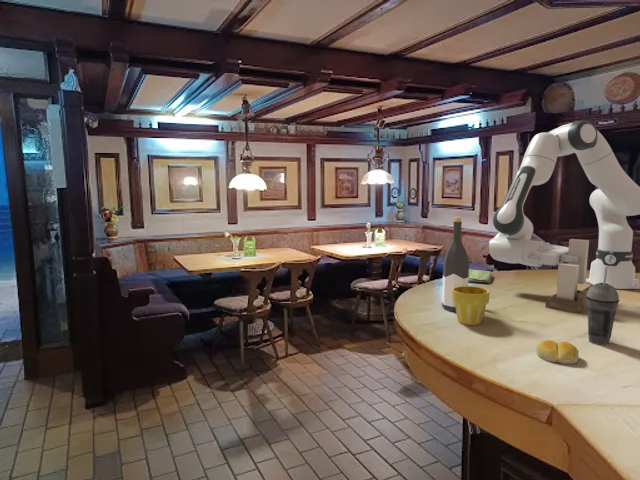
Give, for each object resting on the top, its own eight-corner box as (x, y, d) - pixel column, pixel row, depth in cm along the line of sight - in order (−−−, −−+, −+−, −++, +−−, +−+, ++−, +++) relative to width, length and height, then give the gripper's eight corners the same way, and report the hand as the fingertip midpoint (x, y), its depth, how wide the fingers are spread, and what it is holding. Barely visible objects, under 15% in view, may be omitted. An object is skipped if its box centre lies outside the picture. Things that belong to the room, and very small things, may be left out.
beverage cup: (611, 338, 119) (617, 264, 116) (619, 348, 112) (626, 269, 109) (579, 335, 121) (585, 262, 118) (586, 345, 114) (592, 267, 111)
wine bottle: (468, 306, 149) (472, 216, 145) (465, 313, 142) (469, 218, 138) (443, 303, 153) (446, 215, 149) (439, 310, 145) (442, 217, 141)
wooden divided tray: (560, 301, 154) (562, 280, 153) (594, 307, 148) (595, 285, 147) (545, 311, 143) (546, 288, 142) (580, 318, 136) (582, 294, 135)
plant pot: (469, 329, 126) (471, 295, 125) (443, 319, 136) (444, 288, 134) (495, 324, 131) (497, 291, 130) (469, 314, 140) (470, 284, 139)
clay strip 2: (558, 305, 144) (561, 263, 142) (575, 308, 141) (579, 265, 139) (555, 307, 142) (558, 264, 140) (573, 310, 139) (576, 266, 137)
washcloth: (456, 282, 186) (456, 274, 186) (462, 274, 202) (462, 267, 201) (490, 285, 181) (490, 277, 180) (493, 277, 196) (493, 269, 196)
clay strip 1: (568, 280, 151) (572, 238, 149) (585, 282, 147) (589, 240, 145) (566, 281, 148) (569, 239, 147) (582, 284, 145) (586, 241, 143)
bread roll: (537, 349, 112) (538, 333, 112) (579, 356, 108) (580, 340, 107) (533, 360, 106) (534, 343, 105) (577, 368, 101) (578, 351, 100)
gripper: (525, 247, 148) (572, 252, 138) (546, 241, 162) (589, 245, 153) (524, 266, 149) (570, 272, 139) (545, 258, 163) (588, 263, 154)
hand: (580, 258), depth 146 cm, fingers closed on clay strip 1, 3 cm apart
